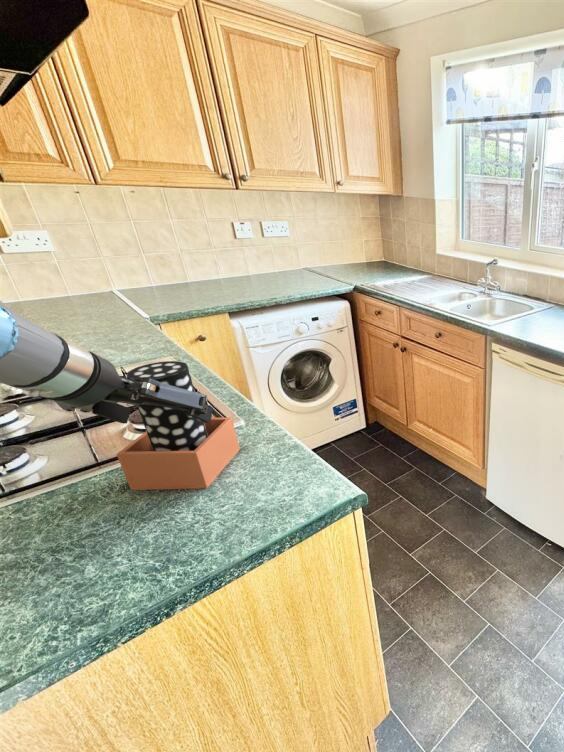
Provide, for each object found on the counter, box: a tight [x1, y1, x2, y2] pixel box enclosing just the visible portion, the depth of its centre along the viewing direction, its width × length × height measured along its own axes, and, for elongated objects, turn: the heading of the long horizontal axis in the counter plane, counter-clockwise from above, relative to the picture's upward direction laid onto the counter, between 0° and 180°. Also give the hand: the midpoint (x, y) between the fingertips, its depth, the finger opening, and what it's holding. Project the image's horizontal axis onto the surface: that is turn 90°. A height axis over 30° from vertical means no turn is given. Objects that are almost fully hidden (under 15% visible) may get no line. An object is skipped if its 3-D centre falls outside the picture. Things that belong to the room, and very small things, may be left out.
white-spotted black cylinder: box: [125, 360, 208, 451], centre depth 76 cm, size 8×8×20 cm
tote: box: [116, 417, 241, 491], centre depth 79 cm, size 13×13×8 cm
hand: (168, 415), depth 75 cm, fingers open, 13 cm apart
